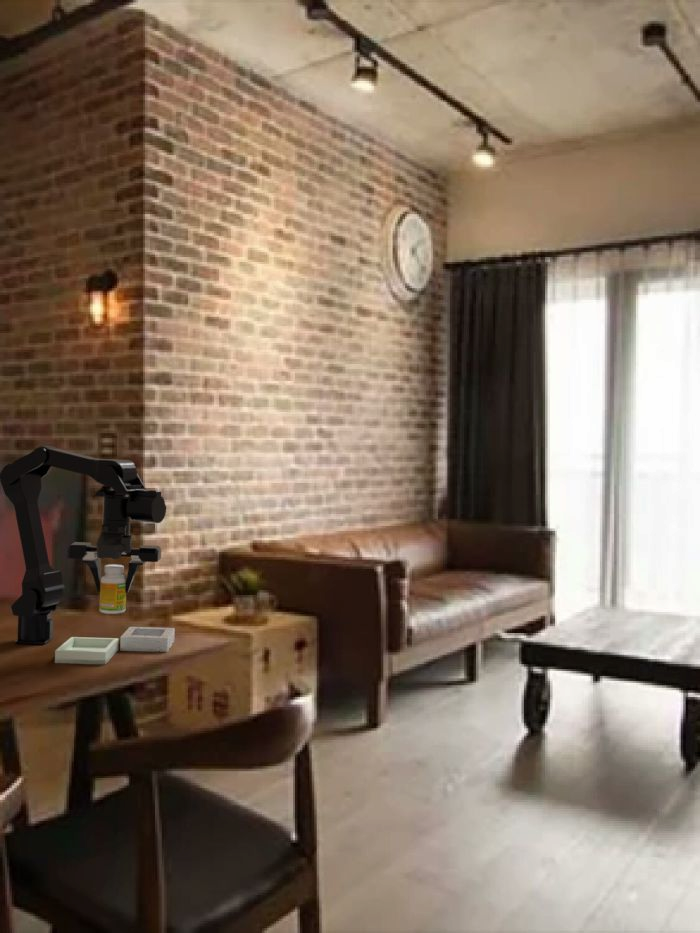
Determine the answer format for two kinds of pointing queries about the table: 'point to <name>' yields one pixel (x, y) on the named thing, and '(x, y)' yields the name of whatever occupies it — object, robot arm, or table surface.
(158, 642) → the sleeve holder
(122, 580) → the supplement bottle
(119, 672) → the table surface
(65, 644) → the tray
